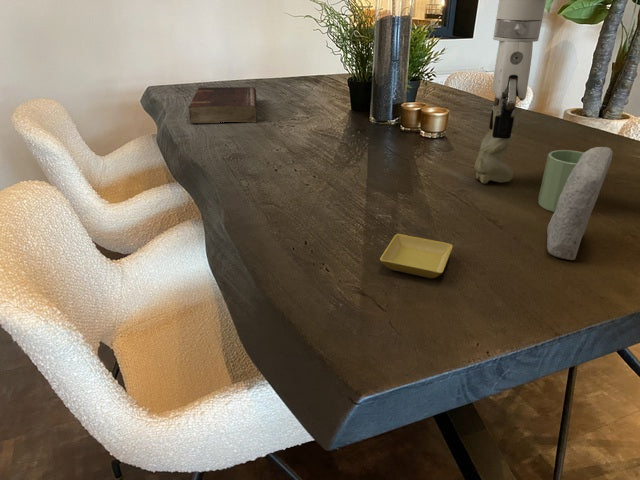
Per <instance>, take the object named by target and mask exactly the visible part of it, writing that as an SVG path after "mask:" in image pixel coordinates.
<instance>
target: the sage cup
mask: <svg viewBox="0 0 640 480" xmlns="http://www.w3.org/2000/svg"><path fill="white" fill-rule="evenodd" d="M583 153H585V152H584V151H578V150H573V149H572V150H571V149H560V150H559V149H558V150H557V149H556V150H552V151H550V152H549V153H548V154H547V158H546V162H545V167H544V170H543V176H542V180H541V186H540V188H539V193H538V200H537V202H538V205H539V206H540V207H541V208H543V209H544V210H547V211H550V212H553V213H555V211H556V208H557V203H558V200H559V197H560V195H561V193H562V191H563V188H564V186H565V184H566V182H567V179H568V177H569V175H570V174H571V172H572V170H573V168H574V167H575V165H576V164H577V162H578V161H579V159H580V157H581V156H582V154H583Z"/></svg>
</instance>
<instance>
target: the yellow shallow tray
mask: <svg viewBox="0 0 640 480" xmlns="http://www.w3.org/2000/svg"><path fill="white" fill-rule="evenodd" d="M453 248H454V245H453V244H451V243H449V242H443V241H438V240H433V239H428V238H422V237H417V236H411V235H406V234H403V233H402V234H401V233H396V234H395V235H393V237H392V239H391V240H390V242H389V244H388V245H387V247H386V248H385V250H384V251H383V253H382V255H381V256H380V258H379V260H380V262H381V263H382V264H383V265H384V266H385V267H387V268H388V269H389V270H391V271H396V272H401V273H405V274H409V275H415V276H417V277H418V276H419V277H423V278H427V279H435V278H437V277H439V276H441V275H442V274H443V273H444V270H445V268H446V265H447V263H448V260H449V258H450V255H451V254H452V253H451V252H452V251H453Z"/></svg>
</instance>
